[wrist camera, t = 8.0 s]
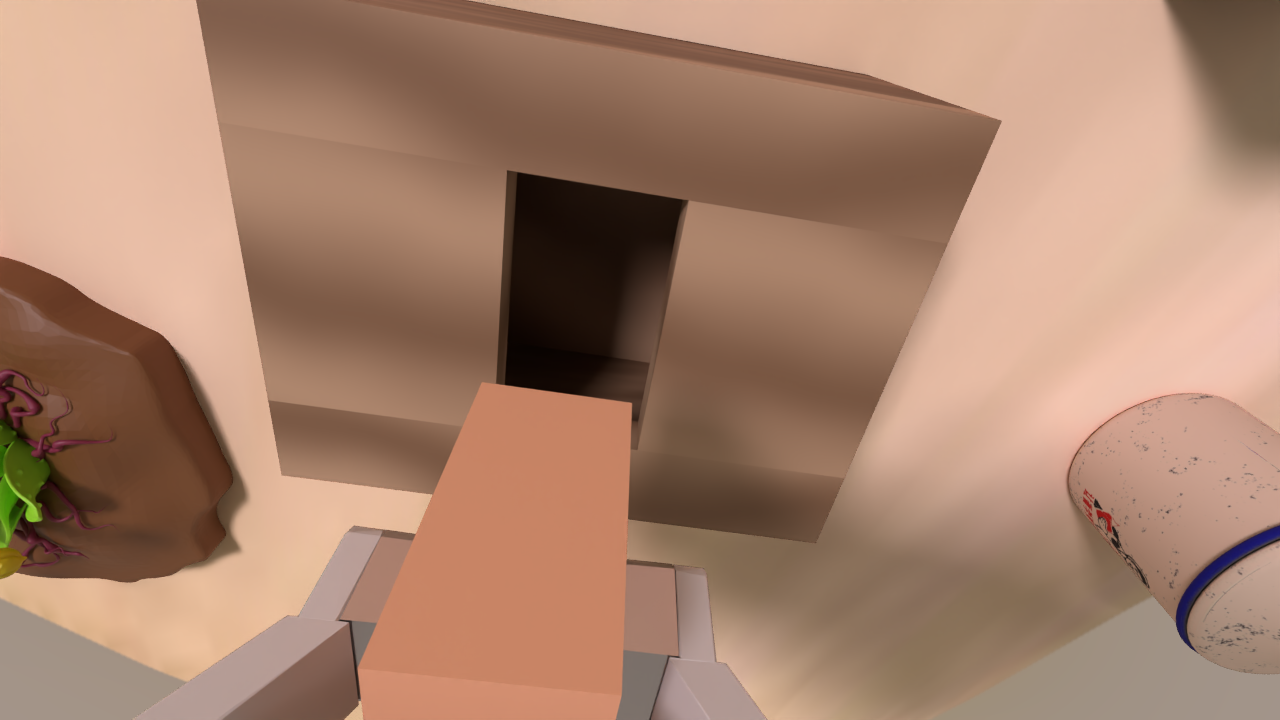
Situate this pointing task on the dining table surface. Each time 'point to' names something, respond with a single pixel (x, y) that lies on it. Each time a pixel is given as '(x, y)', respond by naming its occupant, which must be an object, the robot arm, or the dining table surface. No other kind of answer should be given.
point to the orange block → (513, 570)
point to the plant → (98, 441)
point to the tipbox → (577, 242)
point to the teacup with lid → (1194, 519)
